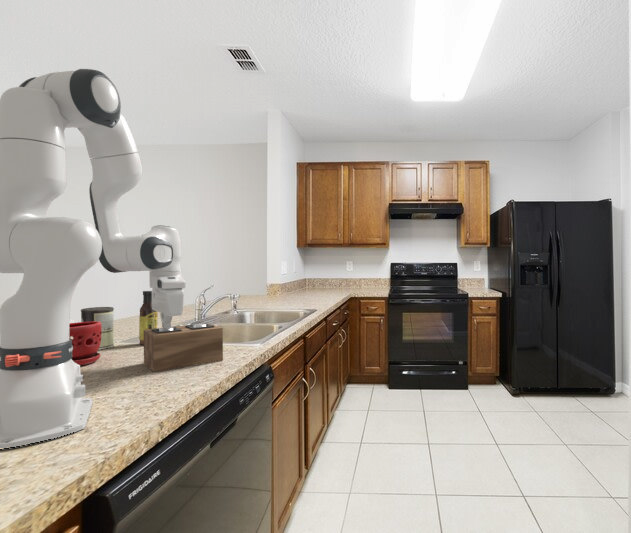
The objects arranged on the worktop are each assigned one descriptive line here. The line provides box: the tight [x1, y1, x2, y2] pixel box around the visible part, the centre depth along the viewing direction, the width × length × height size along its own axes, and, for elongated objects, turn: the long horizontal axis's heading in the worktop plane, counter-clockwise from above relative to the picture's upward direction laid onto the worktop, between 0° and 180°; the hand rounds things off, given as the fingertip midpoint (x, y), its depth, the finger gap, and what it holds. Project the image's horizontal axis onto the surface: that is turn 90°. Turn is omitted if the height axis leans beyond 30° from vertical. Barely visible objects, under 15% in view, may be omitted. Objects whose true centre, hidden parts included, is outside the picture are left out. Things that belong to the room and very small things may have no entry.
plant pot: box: [69, 321, 102, 366], centre depth 115 cm, size 13×13×12 cm
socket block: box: [143, 322, 224, 373], centre depth 115 cm, size 12×20×10 cm, turn 127°
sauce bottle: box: [138, 290, 159, 346], centre depth 142 cm, size 7×6×20 cm
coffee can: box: [80, 306, 115, 351], centre depth 136 cm, size 10×10×14 cm
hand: (166, 328), depth 112 cm, fingers closed, pressing on near peg
